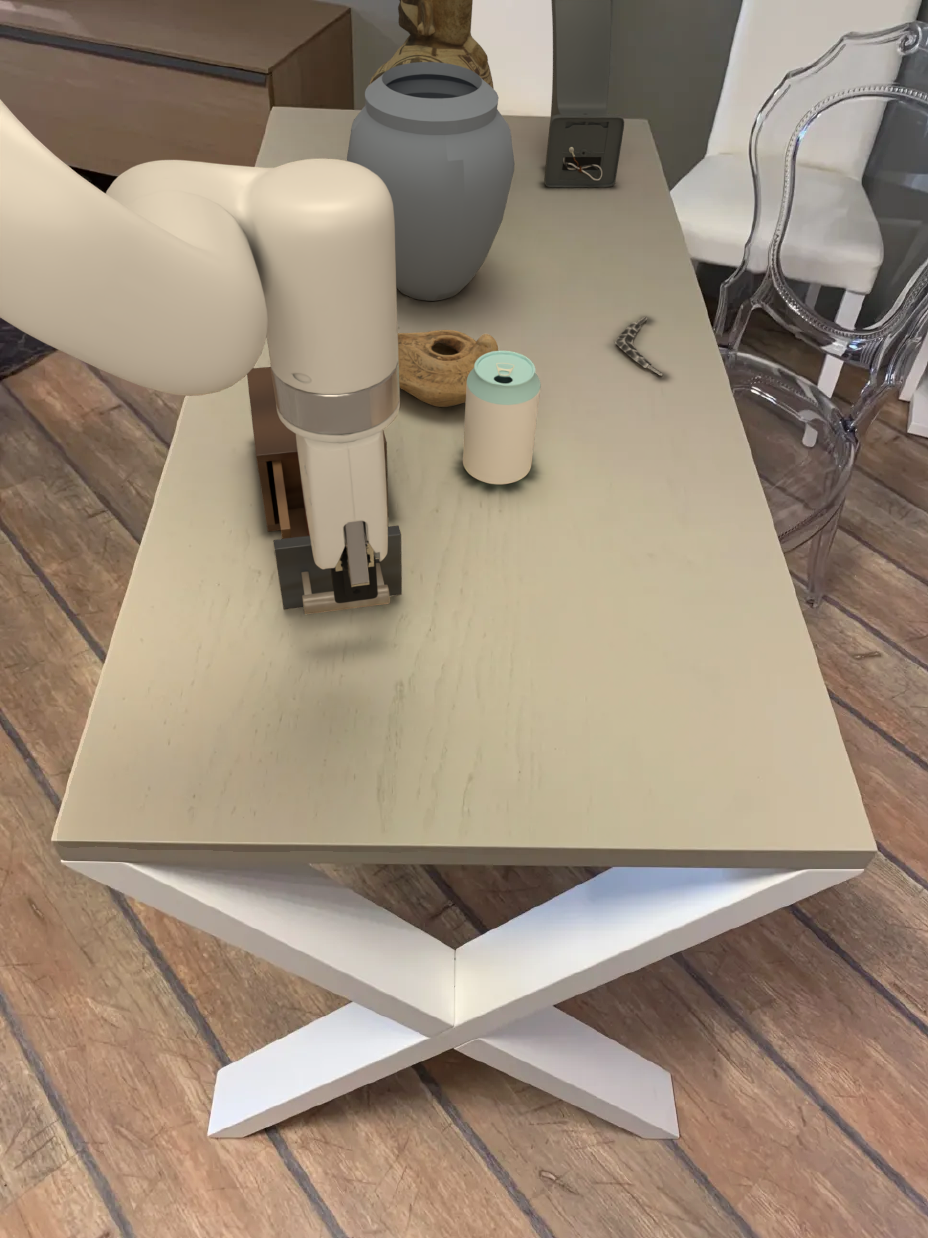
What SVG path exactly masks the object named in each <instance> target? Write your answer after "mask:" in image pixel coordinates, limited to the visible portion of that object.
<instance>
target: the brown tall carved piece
mask: <svg viewBox="0 0 928 1238" xmlns="http://www.w3.org/2000/svg"><path fill="white" fill-rule="evenodd" d="M397 13H398V20H397V21H398V25H399V27H400V28H401V29H403V30H404V31H406V32H407V33H408V34H409V35H408V37H407V38H406V39H405V41H404V42H403V43H402V45H400V46H399V48H398V49H396V51H395V53H394V54H393V56H392V57H391V58H390V59H389V60H388V61H386V62H384V63H383V64H382V65H381V66H380V67H379V68H378V69H376V71H375V72H374V73H373V75H372V76H371V79H370V81H369V83H368V86H369V85H370V84H371V83H372V82H374V81H375V80H376V79H378V78H379V77H380V76H382V75H383V74H384V73H385V72H386V71H387V70H389V69H391V68H393V67H396V66H399V65H403V64H408V63H417V62H438V63H447V64H453V65H457V66H461V67H464V68H467V69H469V70H471V71H473V72H475V73H476V74H478V75H479V76H480V77H481V78H482V79H483V80H484V81H485V82H486V83H487V84H489V85H490V86H491V87H492V88H493V89H494V82H493V77H492V73H491V68H490V64H489V59H488V54H487V52H486V51H485V50H484V48H483V47H482V46H481V44H479V43H478V42H477V40H476V39H475V38H474V36H472V16H473V0H399V3H398V6H397ZM494 90H495V89H494Z"/></svg>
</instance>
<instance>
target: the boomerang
mask: <svg viewBox="0 0 928 1238" xmlns="http://www.w3.org/2000/svg"><path fill="white" fill-rule="evenodd" d="M647 320H648V317H647V316H643V317H642V318H641V319H639V320H637V321H636V322H634V321H632V322H631V323H630V324H628V326H627V327H626V328H624V329H623V331H622V332H621V333H620V334H619V336H618V337H617V338H616V340H615V341H614V344H615V345H616V346H618V347H619V348H620V349H621V350H622V351H623V352H624V354H626V355H627V356H629V357H630V358H631V359H632V360H633V361H635V362H636V363H638V364H639V366H641V367H643V368H645V369H646V368H647V369H649V370H650V371H652V372H654V373H656V374H657V375H659V376H660V377H663V376H664V372H663V373H662V372H661V371H660V370H658V369H657V368H656V367H654V366H653V365H652V364H653V363H651V361H649V360H648V359H647V358H645V357H644V355H643V354H642V353H641V352H639V350H637V348H636V347H635V345H634V339H635V338H636V336H637V333H638V331H639V330H640V329H641V328H642V325H643V324H644V323H645V322H646V321H647Z"/></svg>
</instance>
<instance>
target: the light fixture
mask: <svg viewBox="0 0 928 1238" xmlns="http://www.w3.org/2000/svg"><path fill="white" fill-rule="evenodd" d="M551 18H552V19H551V20H552V21H551V22H552V79H551V80H552V83H551V84H552V85H551V86H552V87H551V105H550V119H549V125H548V126H549V128H548V136H547V146H546V154H545V155H546V156H545V164H544V165H545V167H544V174H543V175H544V177H543V181H544V184H545V186H546V187H548V188H611V187H613V186H614V185H615V184H616V179H617V174H618V169H619V163H620V156H621V149H622V143H623V136H624V131H625V130H624V129H625V119H624V118H623V116H622V115H620V114H610V112H609V109H608V102H609V87H610V75H611V73H610V72H611V71H610V70H611V42H612V41H611V40H612V0H551Z"/></svg>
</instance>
